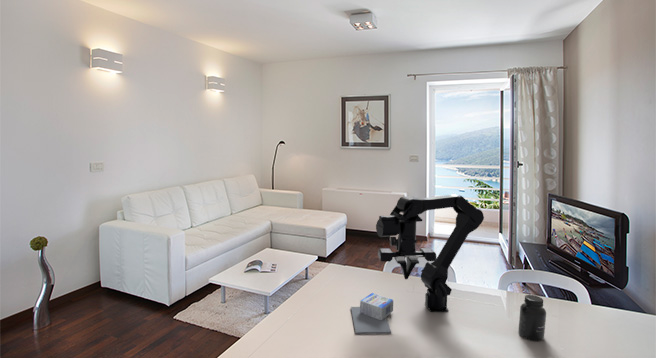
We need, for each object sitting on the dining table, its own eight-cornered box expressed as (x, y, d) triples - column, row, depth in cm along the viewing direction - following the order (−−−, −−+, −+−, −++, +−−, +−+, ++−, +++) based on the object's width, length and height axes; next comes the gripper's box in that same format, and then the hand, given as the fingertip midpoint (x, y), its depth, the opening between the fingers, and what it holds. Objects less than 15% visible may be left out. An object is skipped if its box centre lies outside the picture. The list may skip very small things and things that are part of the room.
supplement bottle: (544, 344, 101) (547, 305, 99) (517, 337, 104) (520, 299, 103) (544, 333, 106) (547, 296, 105) (518, 327, 110) (521, 291, 109)
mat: (381, 308, 122) (381, 306, 122) (391, 333, 106) (391, 331, 106) (350, 308, 122) (350, 306, 122) (355, 334, 106) (355, 332, 106)
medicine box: (382, 308, 112) (359, 300, 117) (381, 321, 112) (359, 312, 118) (393, 299, 118) (371, 292, 123) (393, 311, 118) (371, 304, 124)
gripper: (427, 228, 124) (425, 269, 126) (375, 228, 124) (374, 270, 126) (437, 236, 113) (436, 282, 115) (381, 237, 113) (380, 282, 115)
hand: (405, 278), depth 118 cm, fingers closed
